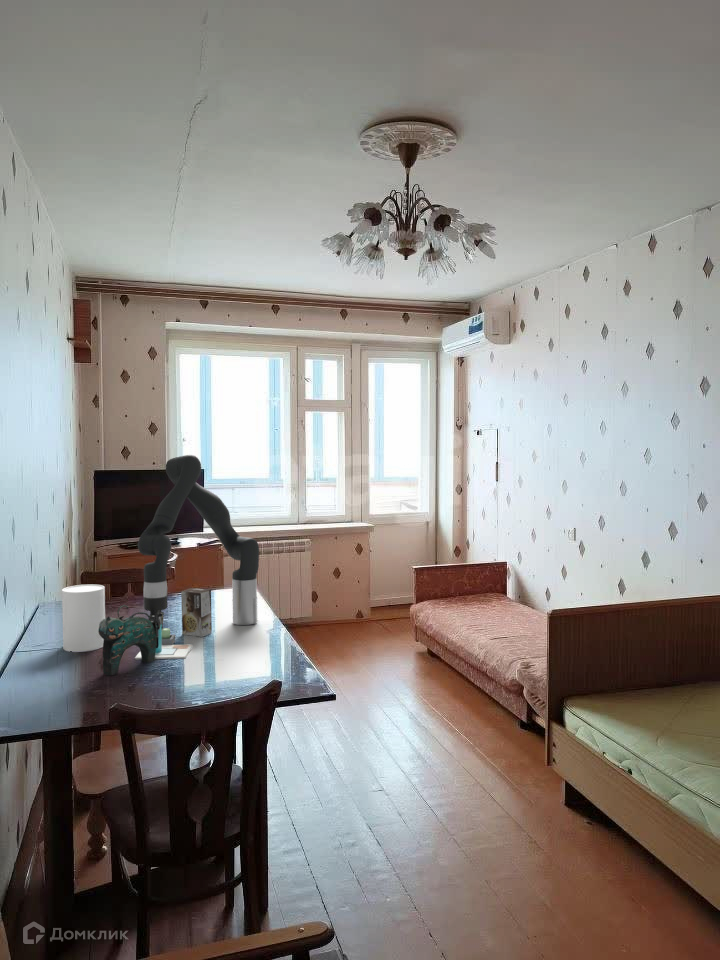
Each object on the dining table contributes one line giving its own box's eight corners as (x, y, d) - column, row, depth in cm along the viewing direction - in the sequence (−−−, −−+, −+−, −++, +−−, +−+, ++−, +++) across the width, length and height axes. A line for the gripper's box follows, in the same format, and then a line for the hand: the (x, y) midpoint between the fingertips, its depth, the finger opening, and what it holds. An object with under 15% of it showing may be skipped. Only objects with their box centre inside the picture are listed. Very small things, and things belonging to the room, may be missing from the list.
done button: (171, 636, 247) (171, 628, 247) (169, 639, 243) (169, 630, 243) (160, 636, 247) (160, 628, 247) (158, 639, 243) (158, 631, 243)
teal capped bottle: (162, 649, 236) (162, 619, 235) (160, 652, 232) (160, 622, 231) (151, 649, 235) (151, 619, 235) (149, 652, 232) (148, 622, 231)
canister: (98, 651, 236) (97, 592, 235) (57, 652, 236) (56, 592, 235) (110, 640, 250) (109, 584, 249) (71, 641, 249) (69, 584, 248)
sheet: (192, 646, 242) (192, 644, 242) (185, 658, 228) (185, 656, 228) (145, 647, 241) (144, 645, 241) (134, 659, 227) (134, 657, 227)
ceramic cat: (108, 678, 209) (107, 611, 208) (94, 674, 212) (92, 608, 211) (160, 661, 226) (159, 599, 225) (146, 657, 229) (145, 596, 228)
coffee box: (212, 633, 259) (212, 589, 258) (201, 637, 253) (201, 592, 253) (192, 630, 263) (191, 587, 262) (181, 634, 257) (180, 590, 256)
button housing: (175, 641, 248) (175, 634, 248) (172, 646, 242) (172, 639, 242) (158, 641, 248) (157, 634, 248) (154, 646, 242) (154, 639, 242)
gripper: (162, 599, 226) (163, 652, 227) (171, 590, 240) (171, 640, 241) (138, 599, 225) (139, 652, 226) (148, 590, 239) (149, 640, 240)
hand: (156, 646), depth 234 cm, fingers closed on teal capped bottle, 3 cm apart
